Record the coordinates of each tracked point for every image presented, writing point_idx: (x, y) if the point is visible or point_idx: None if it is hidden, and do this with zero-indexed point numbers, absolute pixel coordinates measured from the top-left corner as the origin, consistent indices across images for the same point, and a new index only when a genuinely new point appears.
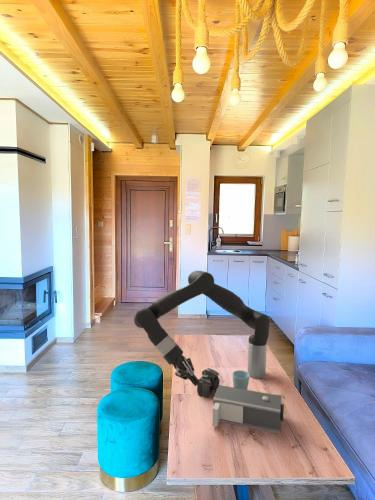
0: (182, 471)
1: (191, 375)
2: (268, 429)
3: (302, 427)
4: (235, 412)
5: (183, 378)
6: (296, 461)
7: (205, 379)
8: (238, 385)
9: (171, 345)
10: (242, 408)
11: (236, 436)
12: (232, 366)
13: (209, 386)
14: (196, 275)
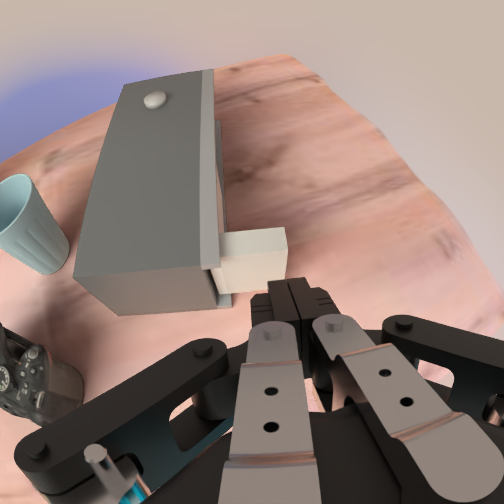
0: (492, 295)
1: (353, 320)
2: (218, 139)
3: None
4: (218, 195)
5: (437, 388)
6: (300, 94)
7: (22, 376)
8: (43, 223)
9: None
10: None
11: (286, 206)
12: None
13: (50, 356)
14: None
